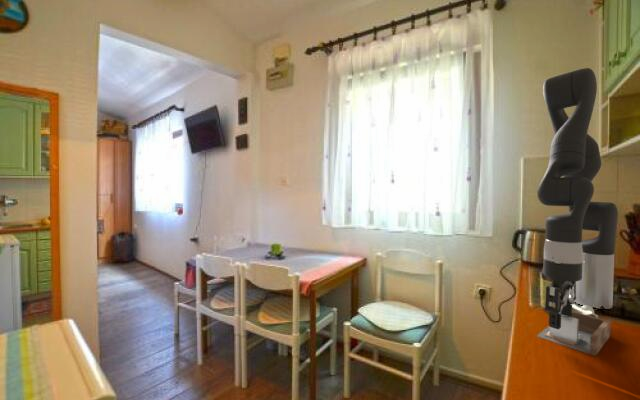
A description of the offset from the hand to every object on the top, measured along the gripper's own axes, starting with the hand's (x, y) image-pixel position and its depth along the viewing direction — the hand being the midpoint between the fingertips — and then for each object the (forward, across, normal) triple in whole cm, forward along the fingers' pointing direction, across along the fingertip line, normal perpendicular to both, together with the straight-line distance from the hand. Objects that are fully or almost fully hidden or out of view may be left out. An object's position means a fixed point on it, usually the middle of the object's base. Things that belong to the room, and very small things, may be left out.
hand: (560, 322), depth 76 cm
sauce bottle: (+5, -19, -7) cm, 21 cm away
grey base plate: (+5, -4, +2) cm, 7 cm away
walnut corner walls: (+5, -4, +2) cm, 7 cm away
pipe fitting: (+5, -21, 0) cm, 22 cm away
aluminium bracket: (+4, -2, +1) cm, 5 cm away
